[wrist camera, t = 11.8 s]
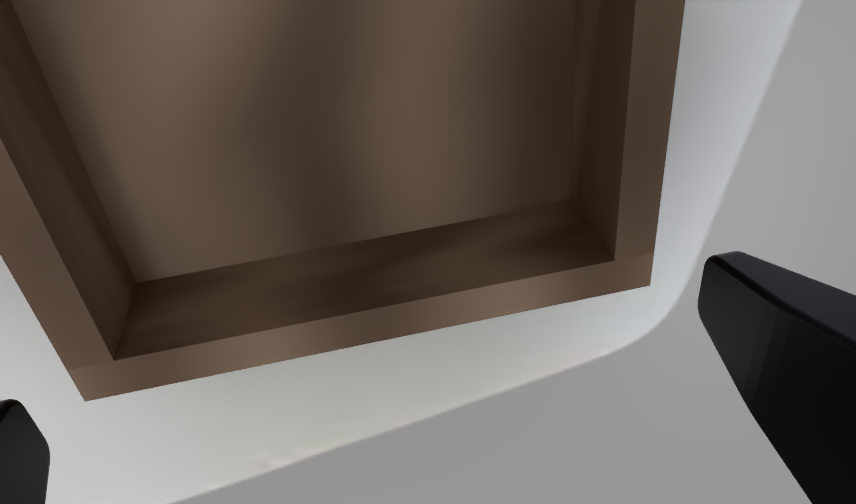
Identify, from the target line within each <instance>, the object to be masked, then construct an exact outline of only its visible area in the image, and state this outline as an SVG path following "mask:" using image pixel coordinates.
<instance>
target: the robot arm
mask: <svg viewBox="0 0 856 504" xmlns="http://www.w3.org/2000/svg"><path fill="white" fill-rule="evenodd" d="M698 311H699V316H700V319H701V321H702V323H703V325H704V327H705V329H706V330H707V332H708V334H709V336H710V338H711V340H712V342H713V343H714V346H715V347H716V349H717V351H718V353H719V355H720V357H721V359H722V360H723V362H724V364H725V366H726V368H727V370H728V372H729V373H730V376H731V377H732V379H733V381H734V383H735V385H736V387H737V389H738V391H739V393H740V394H741V396H742V398H743V400H744V402H745V403H746V405H747V407H748V408H749V410H750V412H751V414H752V415H753V417H754V418H755V420H756V421H757V423H758V424H759V426H760V427H761V429H762V430H763V432H764V433H765V435H766V436H767V438H768V439H769V441H770V442H771V444H772V445H773V447H774V448H775V449H776V451H777V453H778V454H779V455H780V457H781V458H782V460H783V461H784V463H785V464H786V466H787V467H788V469H789V470H790V471H791V473H792V475H793V476H794V478H795V479H796V480H797V482H798V483H799V485H800V486H801V488H802V489H803V491H804V492H805V494H806V495H807V497H808V498H809V500H810V501H811V503H812V504H856V295H853V294H850V293H848V292H845V291H843V290H840V289H837V288H835V287H832V286H829V285H827V284H824V283H822V282H819V281H816V280H814V279H811V278H808V277H806V276H803V275H801V274H798V273H795V272H793V271H790V270H787V269H785V268H782V267H780V266H777V265H774V264H772V263H769V262H766V261H764V260H761V259H759V258H756V257H753V256H750V255H748V254H746V253H743V252H739V251H733V252H728V253H723V254H718V255H713V256H711V257H709V258H708V259H707V261H706V262H705V265H704V270H703V276H702V281H701V287H700V292H699V298H698ZM49 465H50V451H49V447H48V444H47V441H46V439H45V438H44V436H43V435H42V433H41V432H40V430H39V429H38V427H37V426H36V424H35V422H34V421H33V419H32V418H31V416H30V415H29V413H28V412H27V410H26V409H25V407H24V406H23V405H22V403H20V402H19V401H17V400H13V399H8V400H3V401H0V504H45V500H46V491H47V483H48V474H49Z"/></svg>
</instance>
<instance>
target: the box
mask: <svg viewBox="0 0 856 504" xmlns="http://www.w3.org/2000/svg"><path fill="white" fill-rule="evenodd" d="M684 5H685V0H0V254H1V256H2V258H3V260H4V261H5V263H6V265H7V267H8V268H9V270H10V272H11V274H12V275H13V277H14V279H15V281H16V282H17V284H18V286H19V288H20V289H21V291H22V293H23V294H24V296H25V298H26V300H27V301H28V303H29V305H30V307H31V308H32V310H33V312H34V314H35V315H36V317H37V319H38V321H39V322H40V324H41V326H42V328H43V329H44V331H45V333H46V335H47V336H48V338H49V340H50V342H51V343H52V345H53V347H54V349H55V350H56V352H57V354H58V355H59V357H60V359H61V361H62V362H63V364H64V366H65V368H66V369H67V371H68V373H69V375H70V376H71V378H72V380H73V382H74V383H75V385H76V387H77V389H78V390H79V392H80V394H81V396H82V397H83V399H84V401H90V400H95V399H100V398H104V397H109V396H114V395H119V394H124V393H129V392H134V391H138V390H143V389H148V388H153V387H158V386H163V385H168V384H173V383H177V382H182V381H187V380H192V379H197V378H202V377H207V376H212V375H216V374H221V373H226V372H231V371H236V370H241V369H246V368H250V367H255V366H260V365H265V364H270V363H275V362H280V361H285V360H289V359H294V358H299V357H304V356H309V355H314V354H319V353H323V352H328V351H333V350H338V349H343V348H348V347H353V346H358V345H362V344H367V343H372V342H377V341H382V340H387V339H392V338H397V337H401V336H406V335H411V334H416V333H421V332H426V331H431V330H435V329H440V328H445V327H450V326H455V325H460V324H465V323H470V322H474V321H479V320H484V319H489V318H494V317H499V316H504V315H508V314H513V313H518V312H523V311H528V310H533V309H538V308H543V307H547V306H552V305H557V304H562V303H567V302H572V301H577V300H581V299H586V298H591V297H596V296H601V295H606V294H611V293H616V292H620V291H625V290H630V289H635V288H640V287H645V286H650V280H651V272H652V264H653V256H654V248H655V240H656V232H657V224H658V215H659V207H660V199H661V191H662V183H663V175H664V167H665V159H666V151H667V142H668V134H669V126H670V118H671V110H672V102H673V94H674V86H675V78H676V69H677V61H678V53H679V45H680V37H681V29H682V21H683V13H684Z"/></svg>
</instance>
